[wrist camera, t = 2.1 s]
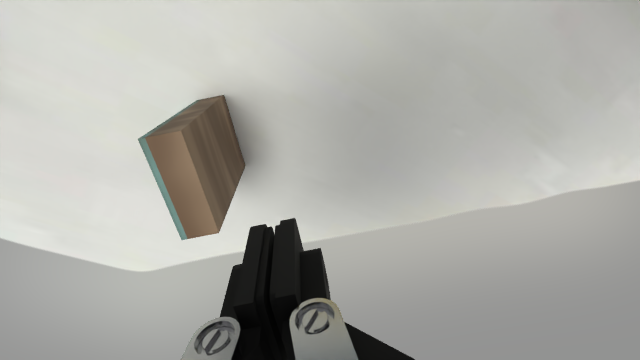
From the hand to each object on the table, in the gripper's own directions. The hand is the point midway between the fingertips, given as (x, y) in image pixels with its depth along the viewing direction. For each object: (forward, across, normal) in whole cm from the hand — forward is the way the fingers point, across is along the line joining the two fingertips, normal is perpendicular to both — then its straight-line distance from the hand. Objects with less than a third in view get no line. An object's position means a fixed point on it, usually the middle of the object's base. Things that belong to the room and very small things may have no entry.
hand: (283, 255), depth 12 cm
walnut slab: (+20, +6, 0) cm, 21 cm away
